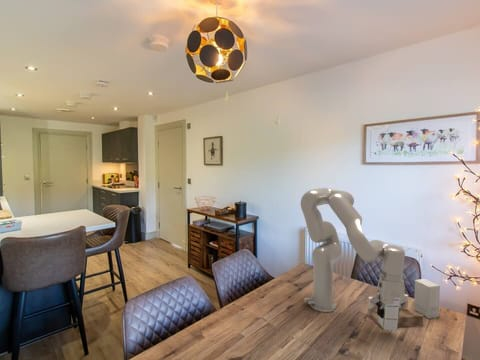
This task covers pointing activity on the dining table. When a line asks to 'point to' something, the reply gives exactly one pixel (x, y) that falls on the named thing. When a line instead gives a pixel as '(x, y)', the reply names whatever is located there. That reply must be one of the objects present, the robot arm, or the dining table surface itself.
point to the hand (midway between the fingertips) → (387, 315)
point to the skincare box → (427, 298)
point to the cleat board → (404, 317)
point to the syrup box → (390, 315)
